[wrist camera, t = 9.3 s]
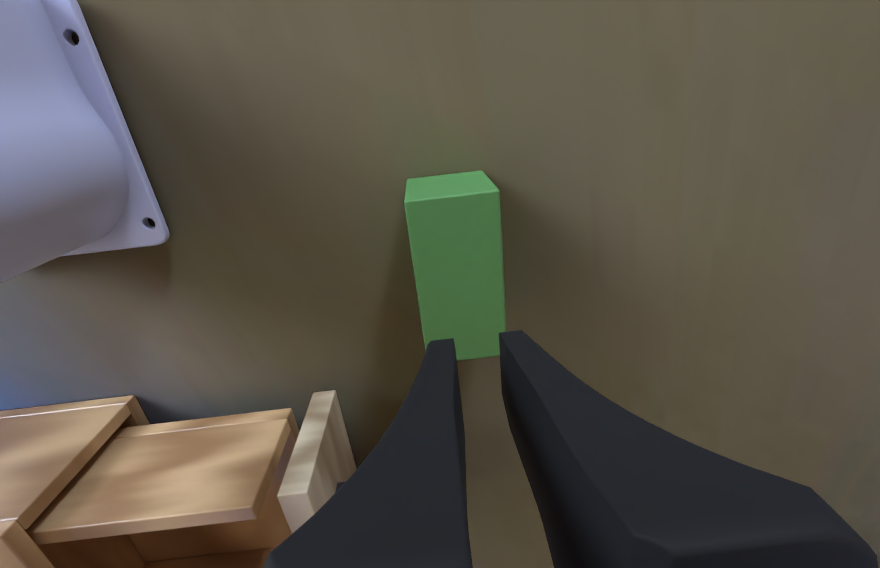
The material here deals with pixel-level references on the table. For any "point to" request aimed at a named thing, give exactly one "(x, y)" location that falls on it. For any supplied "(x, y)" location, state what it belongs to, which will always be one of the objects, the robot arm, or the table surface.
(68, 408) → the cabinet
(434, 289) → the green block
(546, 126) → the table surface
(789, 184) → the table surface
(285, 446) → the drawer
